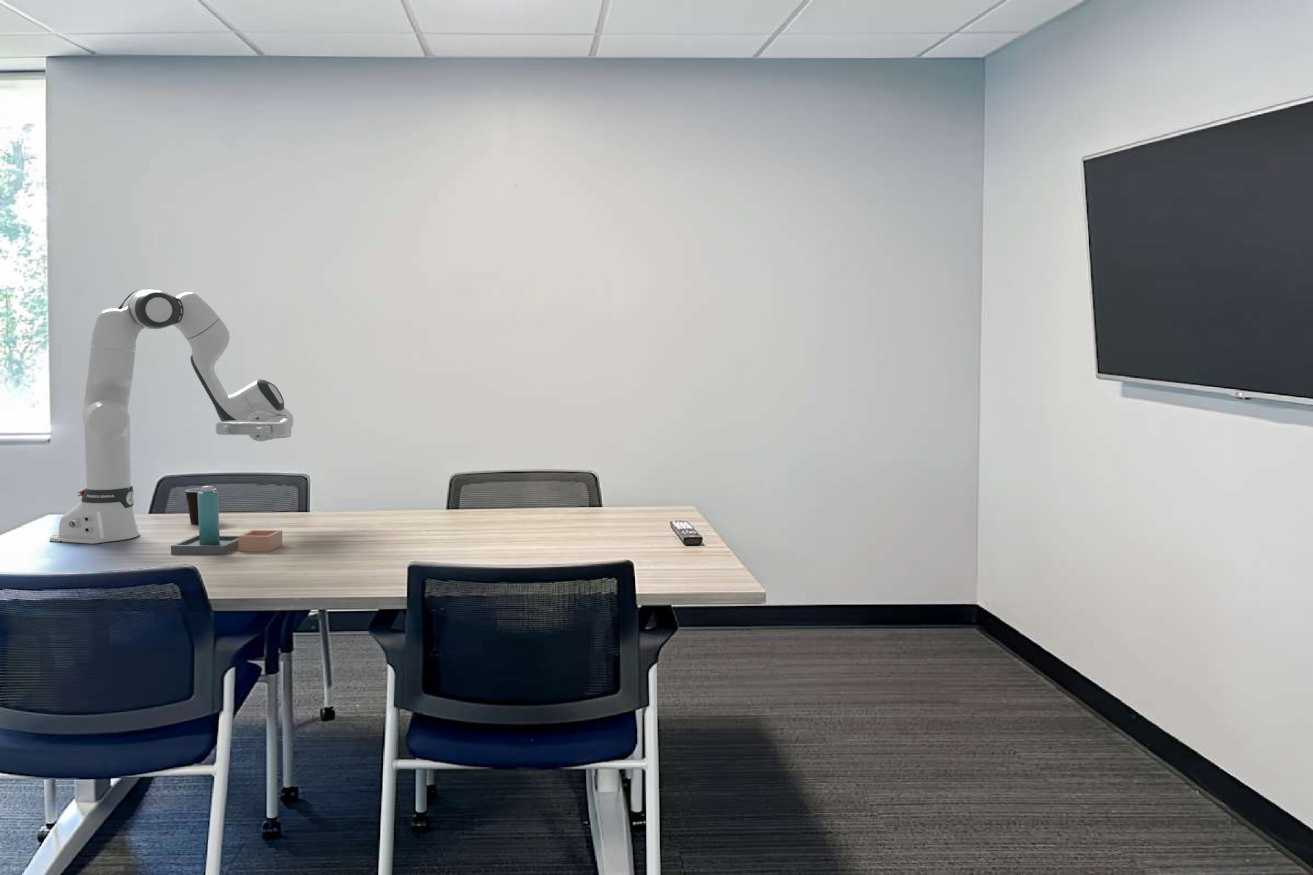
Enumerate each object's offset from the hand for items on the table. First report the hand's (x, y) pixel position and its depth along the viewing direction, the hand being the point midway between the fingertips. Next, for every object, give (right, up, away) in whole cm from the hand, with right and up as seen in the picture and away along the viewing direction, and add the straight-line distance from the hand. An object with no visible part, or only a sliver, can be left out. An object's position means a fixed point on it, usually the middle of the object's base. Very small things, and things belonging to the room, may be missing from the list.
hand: (242, 430), depth 297 cm
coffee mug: (-20, -28, +24) cm, 42 cm away
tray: (-3, -32, -15) cm, 35 cm away
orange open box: (+10, -32, -13) cm, 36 cm away
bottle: (-3, -31, -15) cm, 34 cm away
